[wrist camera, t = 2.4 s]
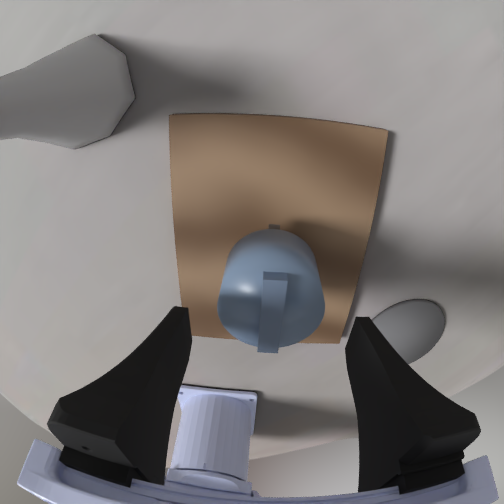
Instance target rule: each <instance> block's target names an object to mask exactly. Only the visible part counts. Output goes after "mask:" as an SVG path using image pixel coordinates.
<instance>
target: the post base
mask: <svg viewBox="0 0 504 504" xmlns="http://www.w3.org/2000/svg"><path fill="white" fill-rule="evenodd" d="M387 136H388V131H387V130H385V129H381V128H375V127H369V126H363V125H357V124H350V123H343V122H336V121H328V120H320V119H311V118H301V117H289V116H276V115H259V114H231V113H190V114H172V115H169V141H170V169H171V190H172V206H173V221H174V233H175V245H176V256H177V266H178V276H179V285H180V294H181V302H182V307H187V308H188V309H189V318H190V327H191V335H192V336H202V337H213V338H224V339H237V338H235V337H234V336H232V335H231V334H230V333H229V332H228V331H227V330H226V329H225V328H224V326H223V325H222V323H221V321H220V319H219V316H218V311H217V302H218V298H219V293H220V289H221V284H222V280H223V275H224V271H225V266H226V262H227V258H228V255H229V253H230V251H231V249H232V248H233V246H234V245H235V244H236V243H237V242H238V241H239V240H240V239H242V238H243V237H244V236H246V235H248V234H250V233H253V232H255V231H259V230H265V229H278V230H284V231H287V232H290V233H293V234H295V235H296V236H298V237H300V238H301V239H302V240H304V241H305V242H306V243H307V244H308V246H309V247H310V248H311V250H312V252H313V254H314V256H315V260H316V264H317V268H318V273H319V277H320V281H321V286H322V290H323V295H324V300H325V313H324V317H323V319H322V321H321V323H320V325H319V326H318V328H317V329H316V330H315V331H314V332H313V333H312V334H311V335H310V336H308V337H307V338H305V339H304V340H302V341H300V342H298V343H335V344H339V343H340V339H341V336H342V333H343V330H344V327H345V324H346V321H347V317H348V314H349V311H350V307H351V304H352V300H353V297H354V293H355V290H356V286H357V283H358V279H359V275H360V271H361V267H362V264H363V260H364V256H365V251H366V247H367V243H368V239H369V235H370V230H371V226H372V221H373V216H374V212H375V207H376V202H377V197H378V191H379V186H380V181H381V175H382V169H383V163H384V157H385V150H386V143H387ZM237 340H238V339H237Z"/></svg>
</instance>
